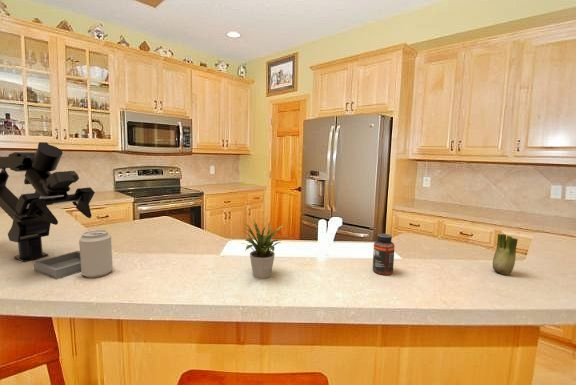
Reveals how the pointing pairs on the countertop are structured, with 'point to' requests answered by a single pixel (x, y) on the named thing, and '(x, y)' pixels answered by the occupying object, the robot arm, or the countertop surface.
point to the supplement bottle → (383, 255)
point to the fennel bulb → (505, 254)
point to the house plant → (262, 252)
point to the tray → (59, 265)
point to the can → (95, 253)
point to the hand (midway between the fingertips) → (74, 220)
